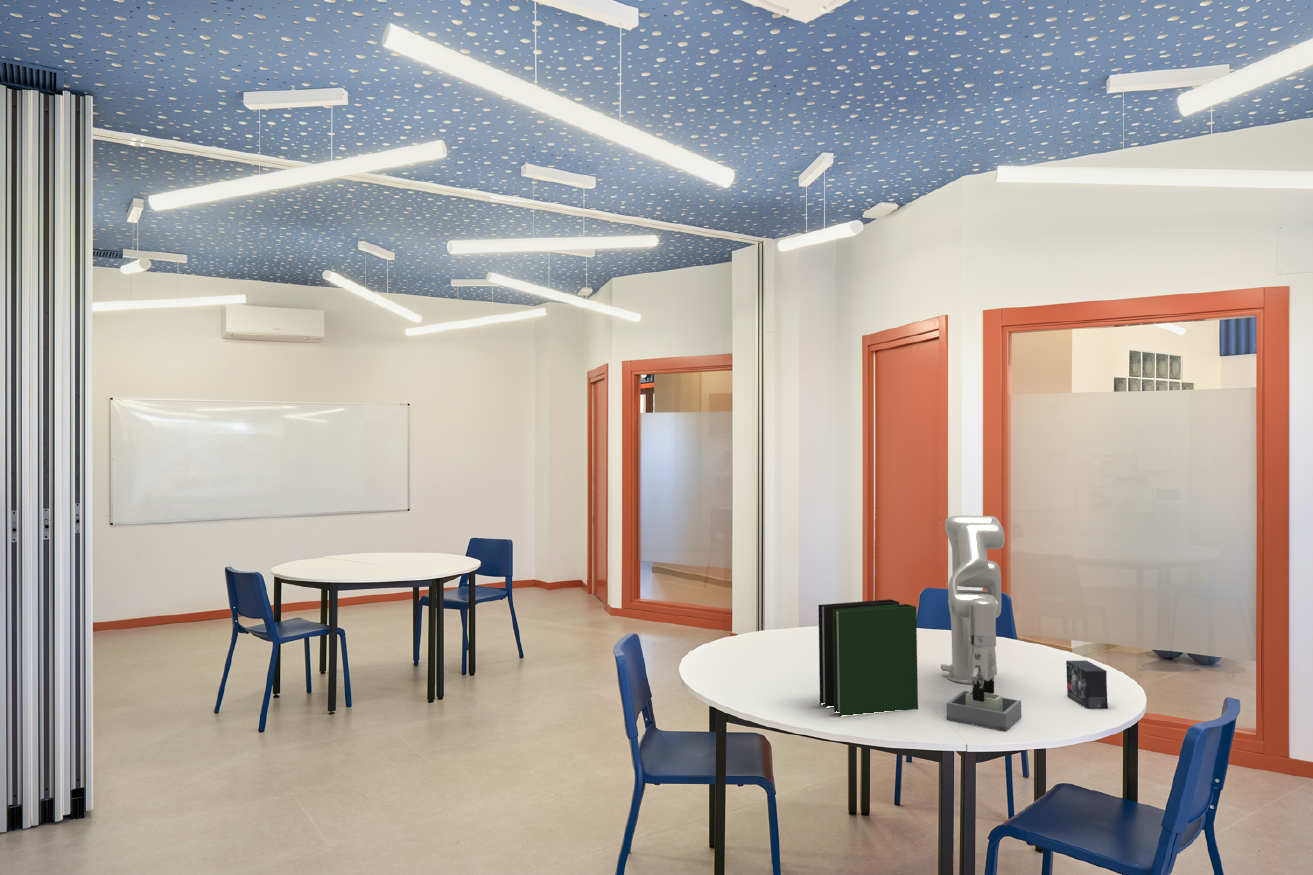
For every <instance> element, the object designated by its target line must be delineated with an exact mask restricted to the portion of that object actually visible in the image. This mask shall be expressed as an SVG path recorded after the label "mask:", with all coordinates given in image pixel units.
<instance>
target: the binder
mask: <svg viewBox="0 0 1313 875" xmlns="http://www.w3.org/2000/svg"><path fill="white" fill-rule="evenodd" d="M917 624H918V623H917V606H915V605H912V604H908V603H902V604H900V601H897V600H893V599H891V598H889V599H878V600H876V599H875V600H864V601H854V602H852V601H851V602H838V603H828V604H827V603H826V604H825V603H824V604H818V662H819V663H818V666H819V667H818V668H819V669H818V670H819V704H820V703H825V705H824V708H825V707H827V706H834V708H833V713H834V712H836V711H837V712H840V713H839V717H840V716H842V715H853V714H863V713H874V712H884V711H894V712H896V711H895V710H903V711H910V710H911V711H912V710H918V709H919V688H918V687H919V686H918V684H919V682H918V639H917V638H918V635H917V633H918V632H917V631H918V630H917V629H918V628H917Z"/></svg>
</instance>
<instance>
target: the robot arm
mask: <svg viewBox="0 0 1313 875" xmlns="http://www.w3.org/2000/svg"><path fill="white" fill-rule="evenodd" d="M944 528H945V534H946V535H947V536H946V537H947V538H948V541H949V543H950V545H951V551H952V552H951V556H952V557H951V560H952V561H951V566H952V567H951V568H952V570H951V571H952V572H951V573H952V575H951V576H950V579H949V582H948V588H947V591H948V592H947V593H948V598H947V603H948V610H949V614H950V615H949V616H950V625H951V626H950V628H951V663H952V664H948V665H947V664H944V663H941V665H940V670H942V671H943V672H948V674H947V679H949V681H952V682H954V683H958V684H963V685H964V684H966V685H972V690H973V700H975V701H980V702H984V692H985V693H991V694H995V677H996V675H998V670H997V669H998V667H997V654H996V647H997V634H996V633H997V631H996V630H997V624H996V619H997V618H998V617H1000V616H1001V612H1002V573H1001V572H1002V571H1001V568H1000V566H999V563H998V562H996V561H993V560H988V552H987V550H1001V549H1002V548H1003V547H1004V546H1005V540H1006V536H1005V531H1004V527H1003V525H1002V523H1001V522H1000V521H999V519H998V518H997V517H996V516H992V515H952V516H949V517H947V518H946V520H945V522H944ZM958 587H960V588H961V587H962V588H979V589H982V588H983V589H986V590H975V589H958Z"/></svg>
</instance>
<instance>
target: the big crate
mask: <svg viewBox="0 0 1313 875" xmlns="http://www.w3.org/2000/svg"><path fill="white" fill-rule="evenodd" d="M969 692H970V691H967V690H963V691H962V692H960V693H959V694H957V695H956V696H954V697H953V698H951V699H950V700H949V701H947V702H946V720H947V721H950V722H957V723H962V724H966V725H971V724H973V725H972V726H976V725H977V727H981V726H982V728H988V729H992V730H997V731H1003V732H1007V731H1008V730H1009V729H1011V728H1012V727H1013V726H1014V725H1015V724H1016V723H1018V721H1019V720H1020V719H1021V718H1022V700H1019V699H1014V698H1008V697H1003V696H1002V700H1003V712H999V711H993V710H988V709H982V708H977V707H971V706H966V694H967V693H969ZM1012 725H1013V726H1012Z"/></svg>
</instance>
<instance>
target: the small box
mask: <svg viewBox="0 0 1313 875" xmlns="http://www.w3.org/2000/svg"><path fill="white" fill-rule="evenodd" d="M1065 664H1066V690H1067V691H1066V693H1067V694H1066V695H1067V697H1068V698H1069V699H1071V700H1072V701H1074V702H1076V703H1077V704H1079V705H1080V704H1081V705H1080V706H1081V707H1083V706H1084V708H1085V709H1087V710H1089V709H1090V710H1091V709H1093V710H1094V709H1095V710H1096V709H1097V710H1098V709H1102V710H1103V709H1107V710H1108V709H1109V703H1108V687H1107V683H1108V682H1107V679H1108V678H1107V675H1108V674H1107V672H1108V671H1107V670H1105V669H1103V668H1102V667H1100V666H1098V665H1096V664H1094V663H1093V662H1090V661H1088V660H1087V659H1086V660H1084V659H1082V660H1066V661H1065Z"/></svg>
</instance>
